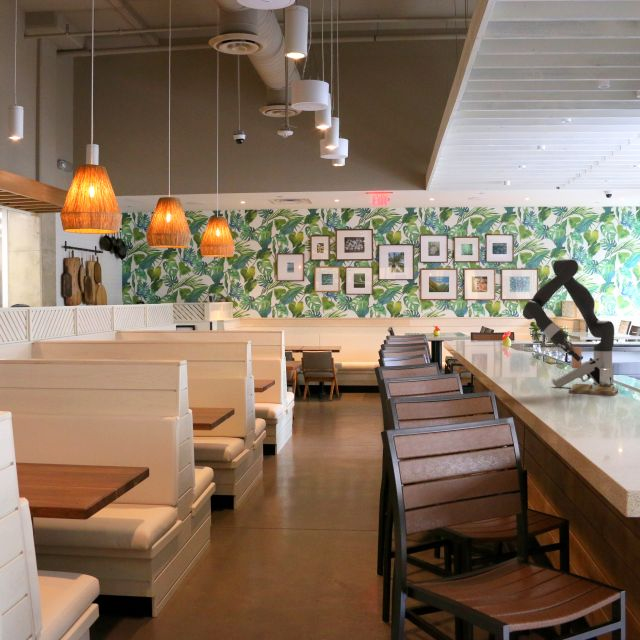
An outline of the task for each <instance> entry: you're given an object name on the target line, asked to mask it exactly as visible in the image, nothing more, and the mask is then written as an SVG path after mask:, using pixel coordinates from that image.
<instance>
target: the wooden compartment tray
mask: <svg viewBox="0 0 640 640" xmlns="http://www.w3.org/2000/svg"><path fill="white" fill-rule="evenodd" d="M568 393H569V394H577V393H578V395H596V396H615V395H616V394H618V393H619V389H618V388H617V389H616V388H615V385H612V384H610V387H600V385H597V384H596V385H595V386H594V387H593V384H589V383H587V384H585V383H575V384H573V385H572V387H571V388H570V389H568Z"/></svg>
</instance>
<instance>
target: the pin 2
mask: <svg viewBox="0 0 640 640" xmlns="http://www.w3.org/2000/svg"><path fill="white" fill-rule="evenodd" d="M610 385H611V384H610V369H600V387H610Z"/></svg>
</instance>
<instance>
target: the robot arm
mask: <svg viewBox="0 0 640 640" xmlns="http://www.w3.org/2000/svg"><path fill="white" fill-rule="evenodd" d="M552 268H553V269H552V270H553V273H554V275H555V276H554V278H552V279H550V280H549V281H548V282H546V283H545V284H543V285H542V286H541V287H540V288H539V289H538V290H537V292H536V293H535V294H534V295H533V297H532V299H531V300H530V301H527V303H525V305H524V308H523V309H522V316H523V318H524V319H526V320H534V321H535V326H536V327H537V328H538V329H539V330H540V331H541V332H542V333H543V334H544V335H545V337H546V338H547V340H550V342H551V343H552V344H553V345H555V346H559V345H560V348H561V349H562V351H564V352H565V353H566V354H567V355H569V356H571V357H572V356H573V357H574V358H575V359H576V360H577V361H579V360H580V359H581V361H582V360H583V359H584V356H583V355H582V354H581V357H580V356H579V355H578V354H577V353H576V352H575V351H574V350H573V347H576V346H575V345H574V344H573V343H572V342H571V341H570V340H567V338H568V334H567V333H566V332H565V331H564V330H563V329H562V328H561V327H560V326H559V325H558V324H557V323H555V322H554V321H553V320H552V319H551V318H550V317H549V316H548V315H547V313H546V312H545V310H544V309H543V307H544V306H545V305H546V304H547V303H548V301H550V299H552V298H553V295H555V294H556V292H557V291H558V290H560V289H561V287H563V286H564V288H565V289H566V291H567V293H568V294H569V296H570V298H571V299H572V301H573V303H574V305H575V306H576V308H577V309H578V311H579V312H580V314H581V316H582V318H583V320H584V321H585V324H586V326H587V329H588V330H589V333H590V335H592V336H593V338H597V339H600V341H599V343H597V344H594V346H593V359H594V360H595V359H597V358H599V362H600V363H601V362H606V363H605V364H603V365H602V366H601V369H610V377H611V380H612V381H611V382H610V385H612V384H614V365H613V347H614V344H615V343H614V342H615V326H614V323H613V322H612V321H611V320H600V319H599V318H598V317H597V315H596V314H595V298H594V297H593V295H592V293H591V292H590V291H589V289H588V288H587V287H586V286H584V285H583V284H582V283H580V282H579V281H578V280H577V279H576V278H575V277H574V276H575V275H576V274H577V273H578V271H579V264H578V262H577V261H576V259H573V258H560V259H557V260H555V261H554V262H553V264H552ZM555 346H554V347H555ZM592 382H593V384H596V382H595V381H594V380H593V379H592Z"/></svg>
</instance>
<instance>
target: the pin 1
mask: <svg viewBox="0 0 640 640" xmlns="http://www.w3.org/2000/svg"><path fill="white" fill-rule="evenodd" d="M573 350H574V351H575V352H576V353H577V354H578V355H579V356H580V357H581V355H582V346H575V347H573ZM581 364H582V360H581V359H580V360H579V361H577V360H576V359H575V358H574V357H573V356H571V369H575V368H581Z"/></svg>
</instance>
